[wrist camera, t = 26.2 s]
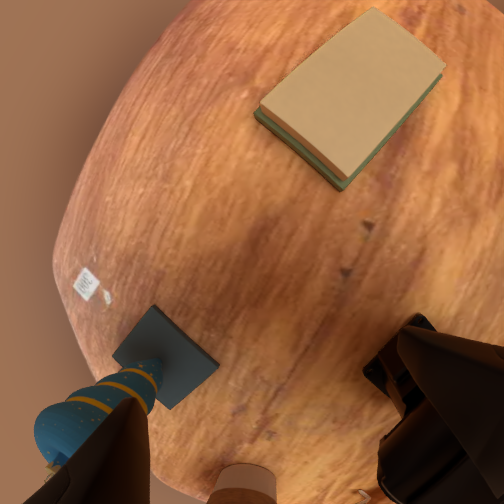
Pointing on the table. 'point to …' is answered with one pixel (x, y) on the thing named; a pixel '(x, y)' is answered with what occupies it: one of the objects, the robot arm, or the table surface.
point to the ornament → (93, 410)
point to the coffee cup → (244, 486)
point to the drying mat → (167, 355)
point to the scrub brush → (351, 95)
